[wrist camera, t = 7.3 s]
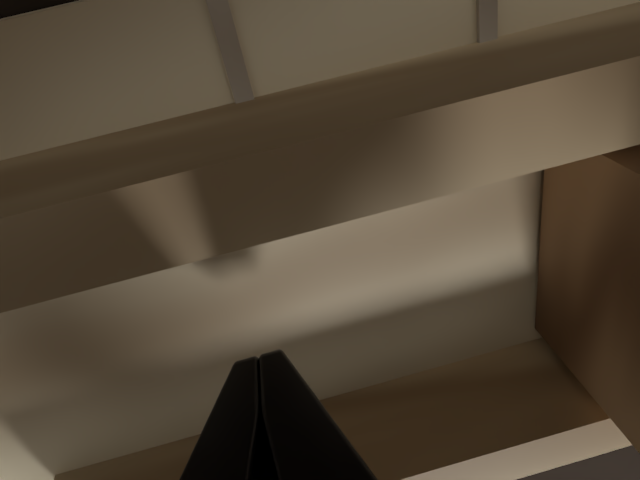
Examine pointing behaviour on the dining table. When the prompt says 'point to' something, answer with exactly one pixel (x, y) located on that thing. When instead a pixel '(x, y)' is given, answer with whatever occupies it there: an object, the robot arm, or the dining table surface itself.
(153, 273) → the gauge bed
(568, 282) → the wooden slider block
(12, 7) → the dining table surface
